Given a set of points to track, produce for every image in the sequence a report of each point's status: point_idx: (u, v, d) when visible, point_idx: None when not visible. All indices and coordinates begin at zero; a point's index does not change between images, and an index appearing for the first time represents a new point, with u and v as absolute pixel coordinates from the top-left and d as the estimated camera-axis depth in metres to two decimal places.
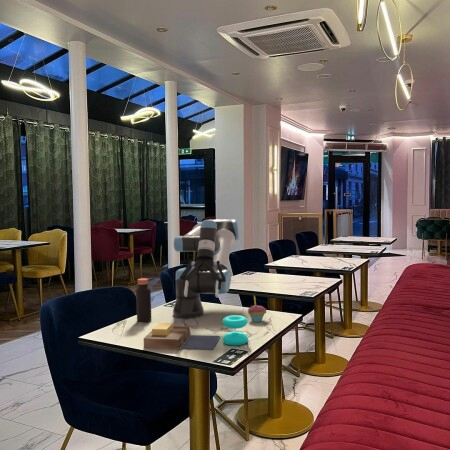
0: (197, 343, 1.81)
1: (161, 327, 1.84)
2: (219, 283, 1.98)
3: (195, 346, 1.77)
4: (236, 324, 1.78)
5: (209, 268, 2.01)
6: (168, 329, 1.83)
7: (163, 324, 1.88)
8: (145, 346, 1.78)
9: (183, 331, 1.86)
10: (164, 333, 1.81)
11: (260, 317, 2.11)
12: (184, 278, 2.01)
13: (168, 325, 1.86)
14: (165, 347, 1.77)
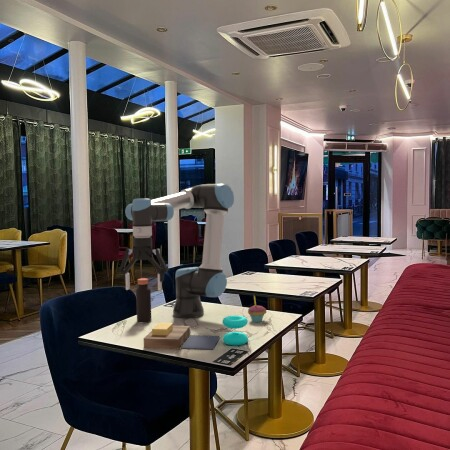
0: (197, 343, 1.81)
1: (161, 327, 1.84)
2: (161, 276, 1.84)
3: (195, 346, 1.77)
4: (236, 324, 1.78)
5: (148, 259, 1.83)
6: (168, 329, 1.83)
7: (163, 324, 1.88)
8: (145, 346, 1.78)
9: (183, 331, 1.86)
10: (164, 333, 1.81)
11: (260, 317, 2.11)
12: (123, 271, 1.86)
13: (168, 325, 1.86)
14: (165, 347, 1.77)
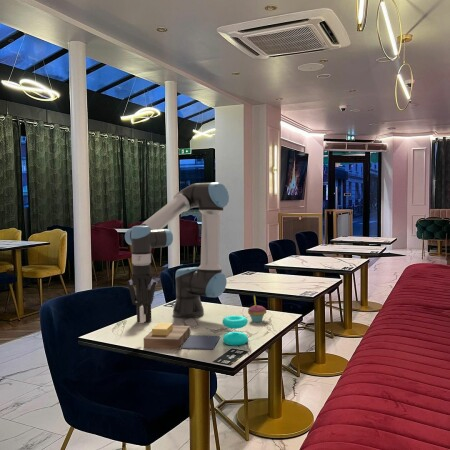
0: (197, 343, 1.81)
1: (161, 327, 1.84)
2: (144, 308, 1.86)
3: (195, 346, 1.77)
4: (236, 324, 1.78)
5: (142, 288, 1.84)
6: (168, 329, 1.83)
7: (163, 324, 1.88)
8: (145, 346, 1.78)
9: (183, 331, 1.86)
10: (164, 333, 1.81)
11: (260, 317, 2.11)
12: (137, 304, 1.85)
13: (168, 325, 1.86)
14: (165, 347, 1.77)
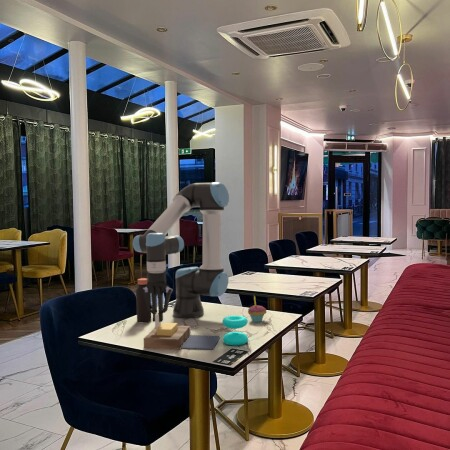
0: (197, 343, 1.81)
1: (166, 327, 1.83)
2: (160, 316, 1.85)
3: (195, 346, 1.77)
4: (236, 324, 1.78)
5: None
6: (173, 329, 1.83)
7: (168, 324, 1.87)
8: (145, 346, 1.78)
9: (183, 331, 1.86)
10: (168, 333, 1.81)
11: (260, 317, 2.11)
12: (153, 312, 1.85)
13: (173, 325, 1.86)
14: (165, 347, 1.77)
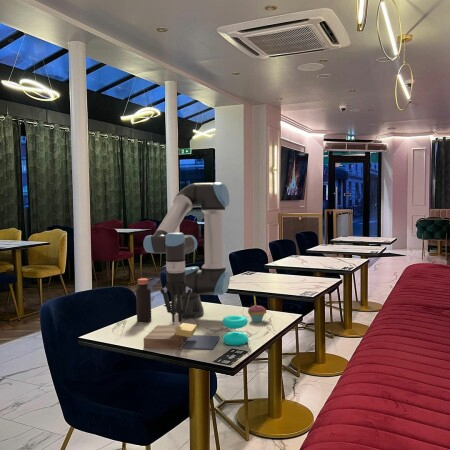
0: (197, 343, 1.81)
1: (186, 328, 1.82)
2: (179, 316, 1.84)
3: (195, 346, 1.77)
4: (236, 324, 1.78)
5: (177, 295, 1.82)
6: (192, 331, 1.82)
7: (187, 325, 1.86)
8: (145, 346, 1.78)
9: None
10: (188, 335, 1.79)
11: (260, 317, 2.11)
12: (172, 312, 1.83)
13: (192, 327, 1.84)
14: (165, 347, 1.77)
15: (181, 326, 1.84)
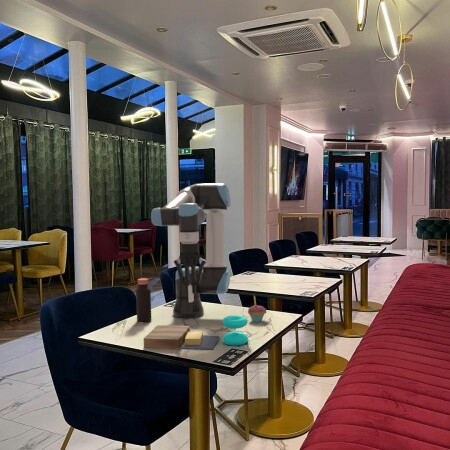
0: None
1: (193, 336, 1.82)
2: (193, 287, 1.82)
3: (195, 346, 1.77)
4: (236, 324, 1.78)
5: (191, 266, 1.81)
6: (200, 338, 1.82)
7: (194, 333, 1.86)
8: (145, 346, 1.78)
9: (183, 331, 1.86)
10: (197, 342, 1.80)
11: (260, 317, 2.11)
12: (186, 284, 1.82)
13: (199, 334, 1.85)
14: (165, 347, 1.77)
15: (188, 335, 1.84)
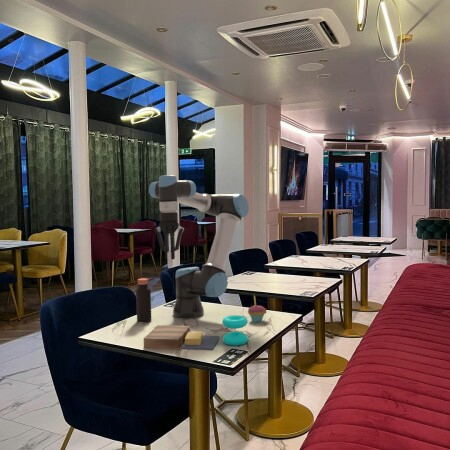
0: None
1: (193, 336, 1.82)
2: (172, 254, 1.96)
3: (195, 346, 1.77)
4: (236, 324, 1.78)
5: (170, 234, 1.94)
6: (200, 338, 1.82)
7: (194, 333, 1.86)
8: (145, 346, 1.78)
9: (183, 331, 1.86)
10: (197, 342, 1.80)
11: (260, 317, 2.11)
12: (165, 250, 1.96)
13: (199, 334, 1.85)
14: (165, 347, 1.77)
15: (188, 335, 1.84)
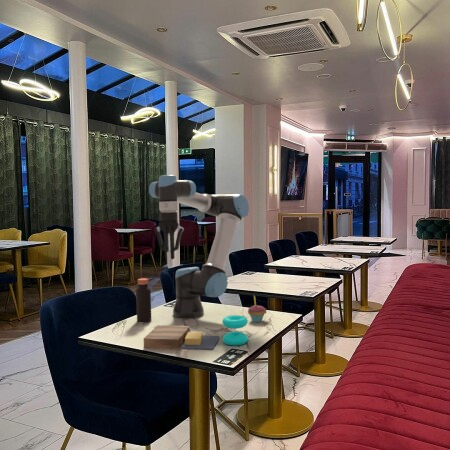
0: None
1: (193, 336, 1.82)
2: (171, 253, 1.96)
3: (195, 346, 1.77)
4: (236, 324, 1.78)
5: (169, 234, 1.95)
6: (200, 338, 1.82)
7: (194, 333, 1.86)
8: (145, 346, 1.78)
9: (183, 331, 1.86)
10: (197, 342, 1.80)
11: (260, 317, 2.11)
12: (165, 250, 1.96)
13: (199, 334, 1.85)
14: (165, 347, 1.77)
15: (188, 335, 1.84)
